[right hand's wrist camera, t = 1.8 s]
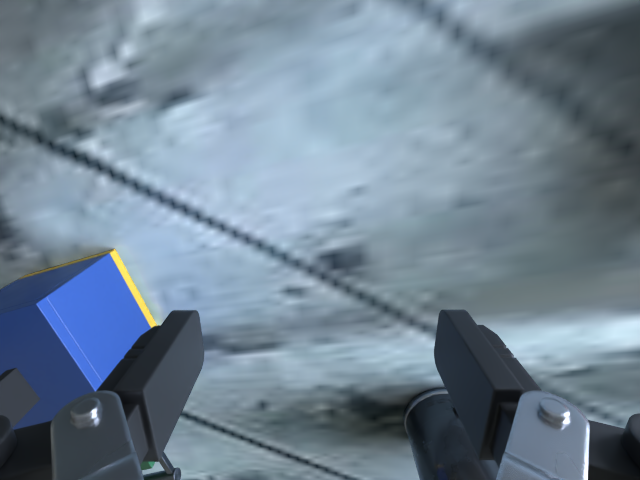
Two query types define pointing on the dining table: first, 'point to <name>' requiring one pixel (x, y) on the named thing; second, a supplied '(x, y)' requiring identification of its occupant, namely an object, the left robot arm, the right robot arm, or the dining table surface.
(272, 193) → the dining table surface
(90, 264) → the cabinet
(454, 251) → the dining table surface
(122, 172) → the dining table surface
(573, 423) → the right robot arm
